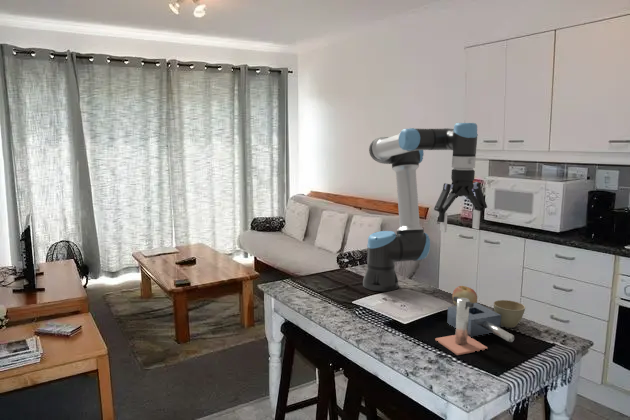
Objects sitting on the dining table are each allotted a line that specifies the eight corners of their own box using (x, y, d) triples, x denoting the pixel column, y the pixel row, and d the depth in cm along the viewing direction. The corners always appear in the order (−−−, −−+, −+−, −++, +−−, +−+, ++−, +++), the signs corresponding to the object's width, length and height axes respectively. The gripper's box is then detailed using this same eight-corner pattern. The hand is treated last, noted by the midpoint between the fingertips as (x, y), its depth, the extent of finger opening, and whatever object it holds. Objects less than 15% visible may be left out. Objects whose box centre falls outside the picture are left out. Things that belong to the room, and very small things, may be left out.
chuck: (447, 323, 159) (447, 307, 158) (475, 318, 163) (476, 302, 162) (494, 352, 138) (495, 333, 137) (525, 346, 142) (527, 327, 141)
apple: (453, 302, 179) (454, 282, 178) (477, 306, 176) (479, 286, 174) (450, 310, 172) (451, 289, 170) (475, 314, 168) (476, 293, 167)
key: (465, 348, 139) (467, 304, 137) (448, 339, 145) (450, 297, 143) (474, 345, 141) (476, 302, 139) (456, 337, 147) (458, 295, 145)
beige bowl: (527, 331, 153) (528, 311, 151) (495, 329, 154) (496, 309, 153) (520, 320, 162) (521, 300, 161) (490, 318, 164) (491, 298, 163)
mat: (435, 340, 146) (435, 338, 146) (463, 334, 150) (463, 333, 150) (457, 355, 136) (457, 353, 136) (487, 349, 140) (487, 347, 140)
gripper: (438, 170, 149) (435, 234, 153) (500, 168, 158) (496, 229, 161) (425, 168, 156) (422, 230, 160) (485, 167, 165) (481, 225, 168)
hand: (459, 230), depth 161 cm, fingers open, 13 cm apart
